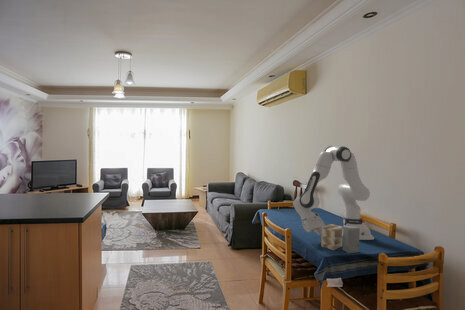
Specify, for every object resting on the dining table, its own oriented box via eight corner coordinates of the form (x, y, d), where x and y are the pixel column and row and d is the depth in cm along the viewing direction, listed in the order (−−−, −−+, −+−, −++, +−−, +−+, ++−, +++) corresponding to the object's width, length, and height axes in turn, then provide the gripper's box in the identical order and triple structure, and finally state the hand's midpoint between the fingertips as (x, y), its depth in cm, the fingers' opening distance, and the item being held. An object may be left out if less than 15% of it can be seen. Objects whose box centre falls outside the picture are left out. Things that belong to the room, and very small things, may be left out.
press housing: (321, 246, 203) (321, 226, 202) (329, 243, 210) (330, 223, 210) (333, 250, 196) (334, 229, 196) (341, 246, 204) (342, 226, 203)
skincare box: (348, 253, 191) (348, 228, 190) (341, 249, 198) (342, 225, 197) (359, 252, 193) (360, 228, 192) (352, 248, 200) (353, 225, 199)
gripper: (303, 217, 207) (315, 235, 200) (319, 213, 221) (331, 229, 214) (297, 222, 211) (309, 240, 204) (313, 218, 225) (325, 234, 218)
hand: (320, 234), depth 209 cm, fingers closed
